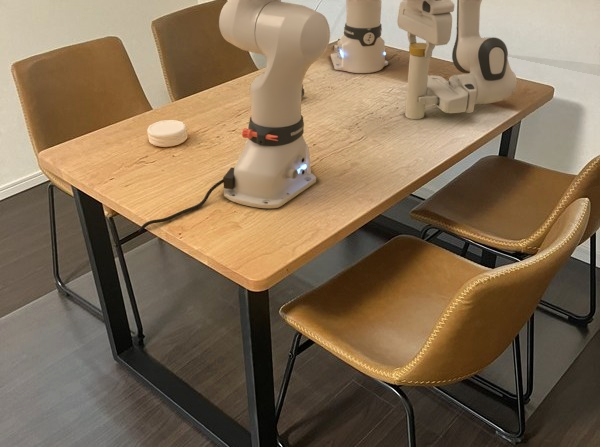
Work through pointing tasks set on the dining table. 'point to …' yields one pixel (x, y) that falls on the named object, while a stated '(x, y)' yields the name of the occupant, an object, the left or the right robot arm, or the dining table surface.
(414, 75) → the jar
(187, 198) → the dining table surface
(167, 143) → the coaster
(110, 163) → the dining table surface
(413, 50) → the lid
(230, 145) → the dining table surface
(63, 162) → the dining table surface
